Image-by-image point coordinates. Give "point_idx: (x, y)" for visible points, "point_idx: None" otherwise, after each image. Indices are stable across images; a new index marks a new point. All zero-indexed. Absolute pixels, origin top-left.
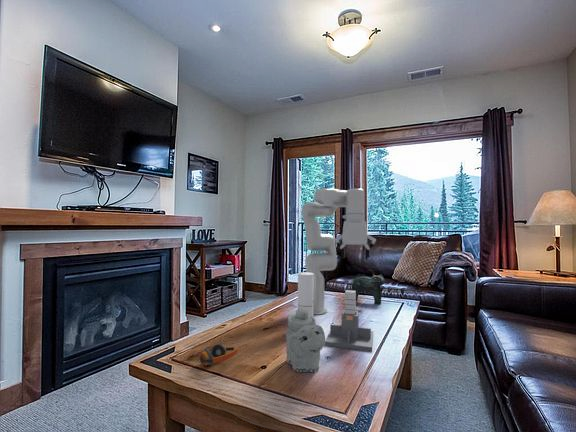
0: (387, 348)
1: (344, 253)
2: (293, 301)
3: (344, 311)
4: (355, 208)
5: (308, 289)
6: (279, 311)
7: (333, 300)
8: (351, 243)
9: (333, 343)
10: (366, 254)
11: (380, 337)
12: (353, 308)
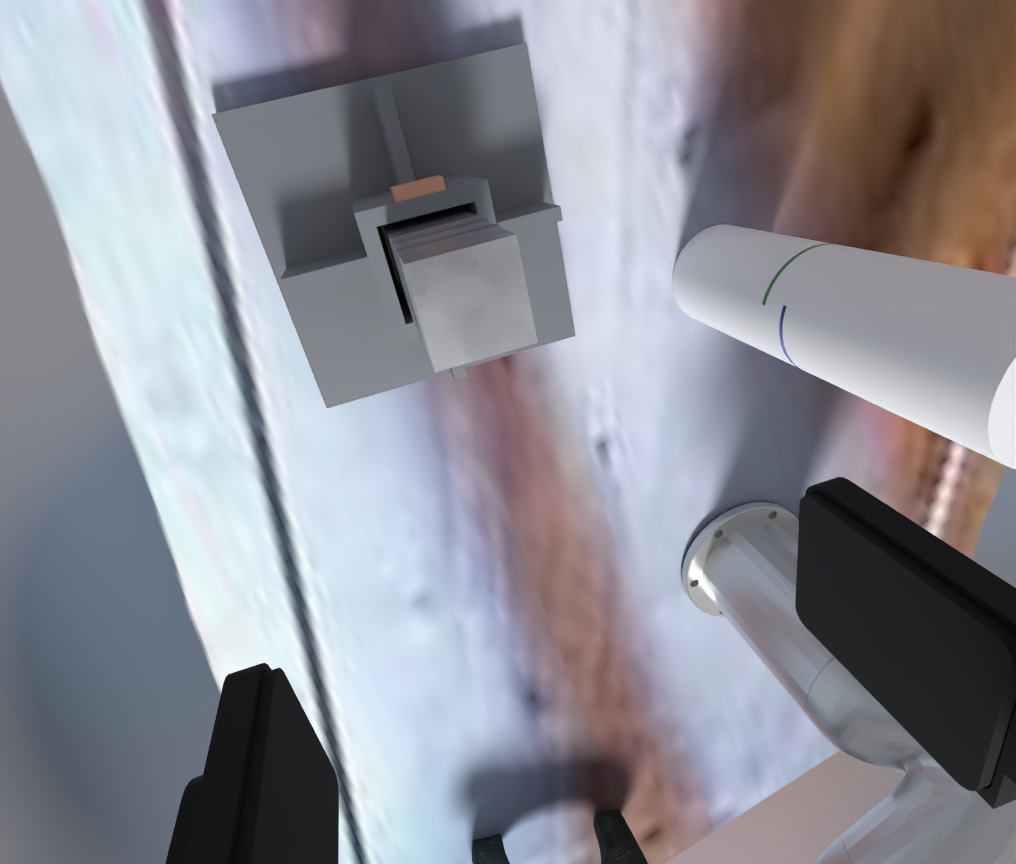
0: (155, 227)
1: (874, 643)
2: None
3: None
4: None
5: (892, 292)
6: (913, 444)
7: (702, 755)
8: None
9: (469, 56)
10: (226, 783)
11: (273, 387)
12: (404, 238)
